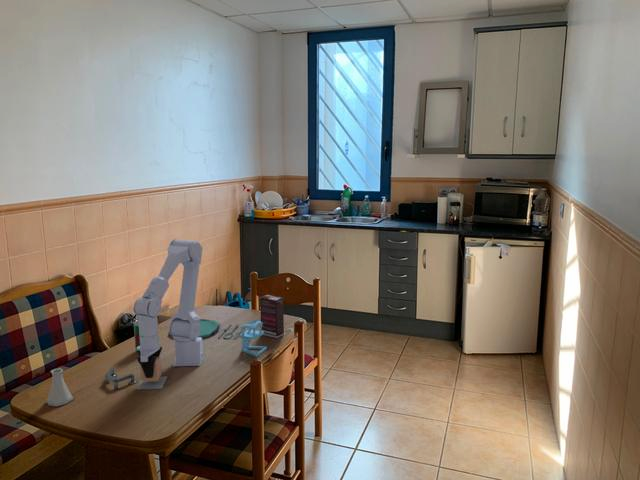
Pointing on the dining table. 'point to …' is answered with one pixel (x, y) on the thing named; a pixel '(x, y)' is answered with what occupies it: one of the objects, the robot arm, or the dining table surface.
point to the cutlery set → (214, 329)
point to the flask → (58, 390)
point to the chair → (252, 337)
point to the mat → (152, 384)
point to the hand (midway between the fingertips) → (151, 373)
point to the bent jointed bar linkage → (111, 375)
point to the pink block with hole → (156, 371)
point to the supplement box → (272, 316)
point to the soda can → (137, 335)
